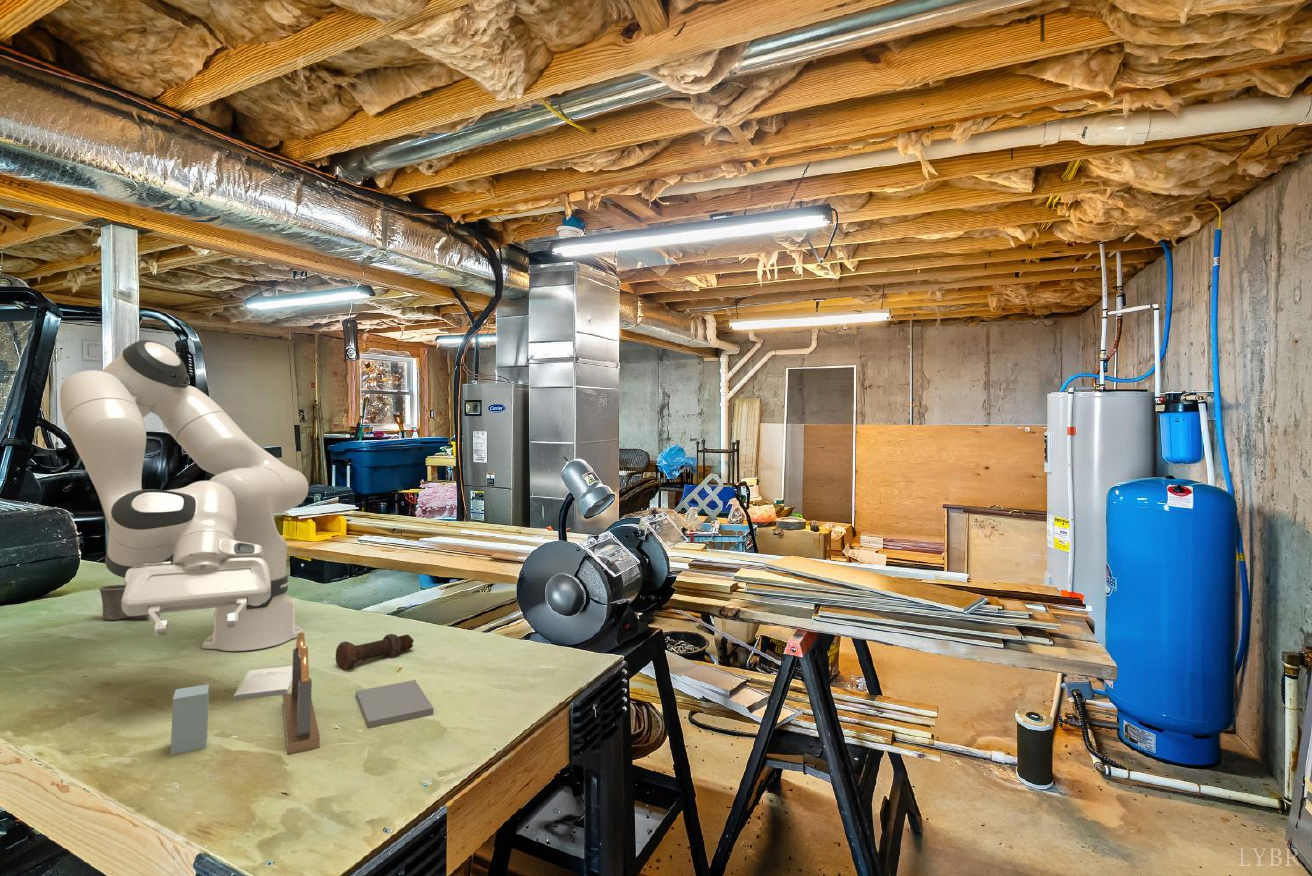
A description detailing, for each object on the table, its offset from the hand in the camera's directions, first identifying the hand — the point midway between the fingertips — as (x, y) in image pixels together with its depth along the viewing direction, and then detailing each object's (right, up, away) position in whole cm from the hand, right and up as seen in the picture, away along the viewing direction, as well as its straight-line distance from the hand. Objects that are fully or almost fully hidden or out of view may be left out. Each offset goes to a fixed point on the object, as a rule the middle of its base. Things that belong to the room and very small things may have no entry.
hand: (197, 629), depth 99 cm
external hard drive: (+3, -15, +13) cm, 20 cm away
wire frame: (+18, -14, -2) cm, 23 cm away
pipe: (-56, -14, +50) cm, 76 cm away
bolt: (+17, -15, +27) cm, 36 cm away
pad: (+30, -15, +6) cm, 34 cm away
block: (+6, -14, -10) cm, 18 cm away
